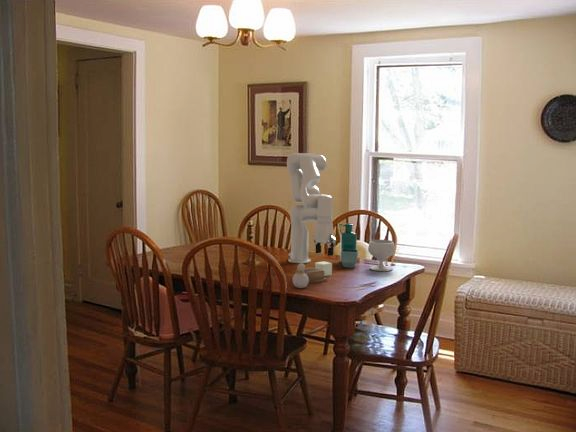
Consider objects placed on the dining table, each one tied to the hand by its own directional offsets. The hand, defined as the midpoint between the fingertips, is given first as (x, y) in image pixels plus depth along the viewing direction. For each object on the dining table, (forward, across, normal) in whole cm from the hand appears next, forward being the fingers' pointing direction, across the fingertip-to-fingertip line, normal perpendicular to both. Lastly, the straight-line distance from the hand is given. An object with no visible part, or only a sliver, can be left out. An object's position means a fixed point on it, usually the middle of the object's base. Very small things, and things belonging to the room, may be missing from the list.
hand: (324, 254), depth 309 cm
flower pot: (+10, -9, +24) cm, 28 cm away
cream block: (+10, -1, 0) cm, 11 cm away
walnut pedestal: (+11, +6, -14) cm, 18 cm away
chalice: (+10, +5, +34) cm, 36 cm away
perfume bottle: (+11, +17, -27) cm, 34 cm away
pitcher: (+10, -19, +31) cm, 38 cm away
